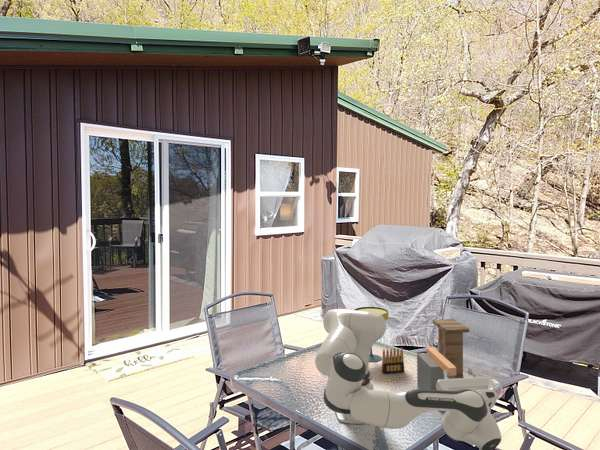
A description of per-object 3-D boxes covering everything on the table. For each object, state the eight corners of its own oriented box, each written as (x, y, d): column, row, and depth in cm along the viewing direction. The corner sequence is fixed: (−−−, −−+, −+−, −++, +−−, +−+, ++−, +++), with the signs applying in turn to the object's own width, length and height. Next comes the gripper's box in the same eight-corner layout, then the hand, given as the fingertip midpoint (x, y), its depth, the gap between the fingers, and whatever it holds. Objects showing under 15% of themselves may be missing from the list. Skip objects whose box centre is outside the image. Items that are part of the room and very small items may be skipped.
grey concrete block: (454, 401, 186) (454, 365, 185) (431, 403, 185) (430, 367, 184) (439, 385, 202) (439, 352, 201) (417, 387, 201) (417, 353, 200)
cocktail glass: (348, 354, 243) (347, 308, 242) (378, 350, 249) (378, 305, 247) (362, 366, 226) (362, 316, 225) (395, 361, 232) (394, 313, 230)
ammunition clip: (402, 370, 220) (402, 346, 219) (404, 372, 218) (404, 347, 217) (381, 372, 218) (381, 348, 217) (382, 374, 216) (382, 349, 215)
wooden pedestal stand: (471, 387, 199) (471, 328, 198) (444, 388, 198) (444, 330, 197) (455, 373, 215) (455, 318, 213) (431, 374, 214) (430, 320, 212)
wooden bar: (456, 375, 175) (456, 367, 175) (448, 375, 175) (448, 368, 175) (433, 354, 199) (433, 347, 199) (426, 354, 199) (426, 347, 198)
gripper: (441, 410, 160) (428, 377, 171) (497, 406, 162) (481, 374, 173) (445, 398, 156) (431, 366, 168) (502, 395, 158) (485, 363, 170)
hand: (457, 370), depth 170 cm, fingers open, 8 cm apart
